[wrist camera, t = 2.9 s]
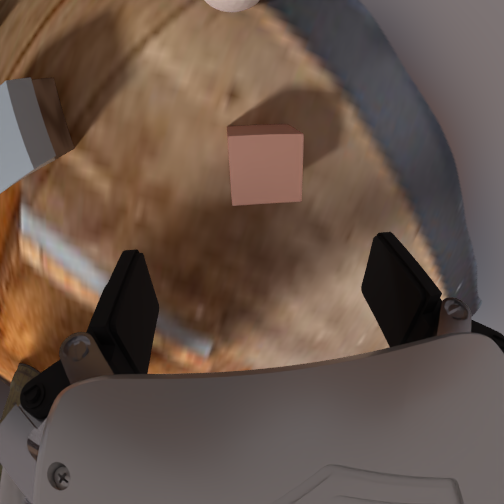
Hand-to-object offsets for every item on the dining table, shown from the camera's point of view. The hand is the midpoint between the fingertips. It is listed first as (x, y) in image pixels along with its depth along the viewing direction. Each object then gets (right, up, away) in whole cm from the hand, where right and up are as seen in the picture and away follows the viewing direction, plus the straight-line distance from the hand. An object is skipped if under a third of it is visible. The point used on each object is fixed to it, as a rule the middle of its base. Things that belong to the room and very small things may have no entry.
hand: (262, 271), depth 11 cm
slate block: (-24, +12, +7) cm, 28 cm away
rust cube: (0, +11, +16) cm, 19 cm away
